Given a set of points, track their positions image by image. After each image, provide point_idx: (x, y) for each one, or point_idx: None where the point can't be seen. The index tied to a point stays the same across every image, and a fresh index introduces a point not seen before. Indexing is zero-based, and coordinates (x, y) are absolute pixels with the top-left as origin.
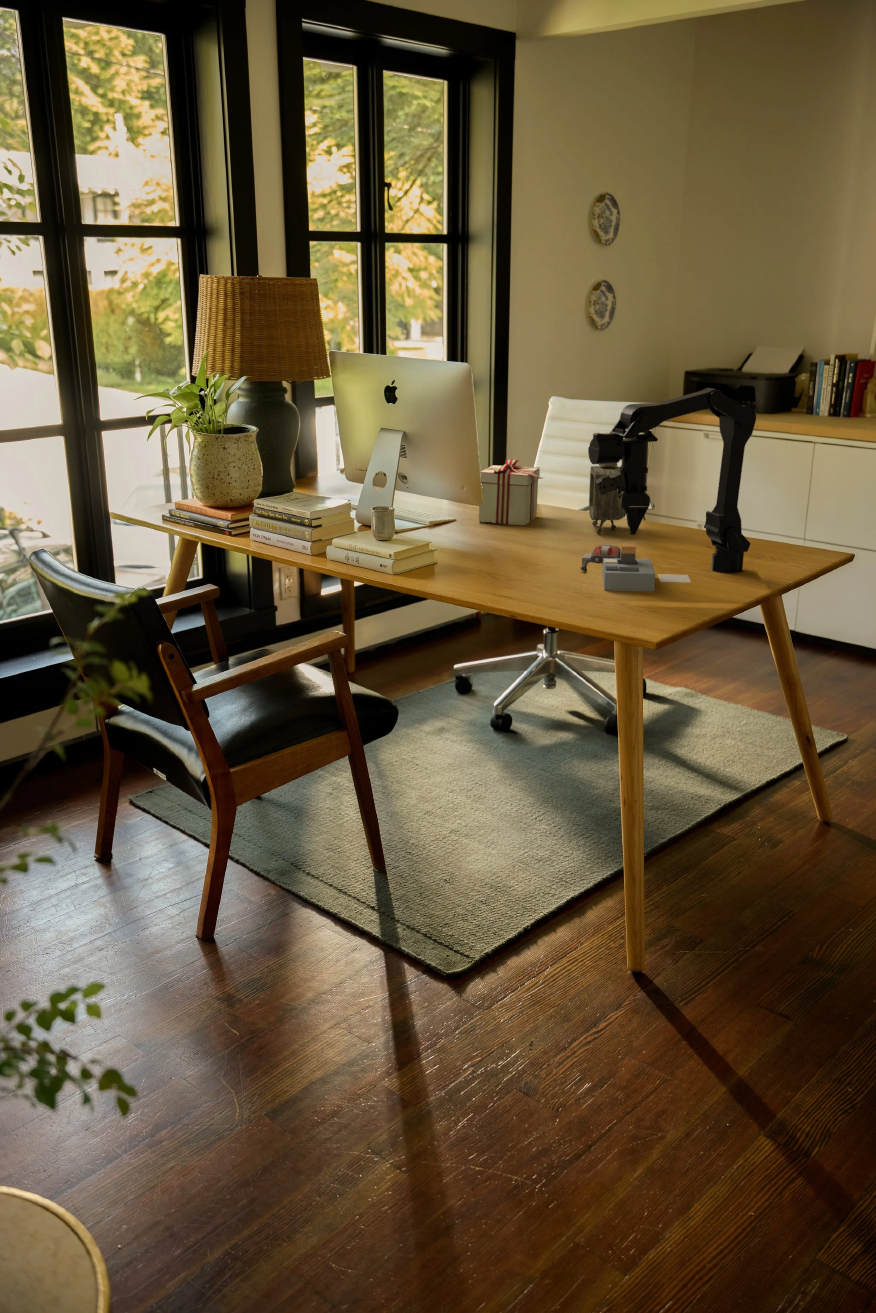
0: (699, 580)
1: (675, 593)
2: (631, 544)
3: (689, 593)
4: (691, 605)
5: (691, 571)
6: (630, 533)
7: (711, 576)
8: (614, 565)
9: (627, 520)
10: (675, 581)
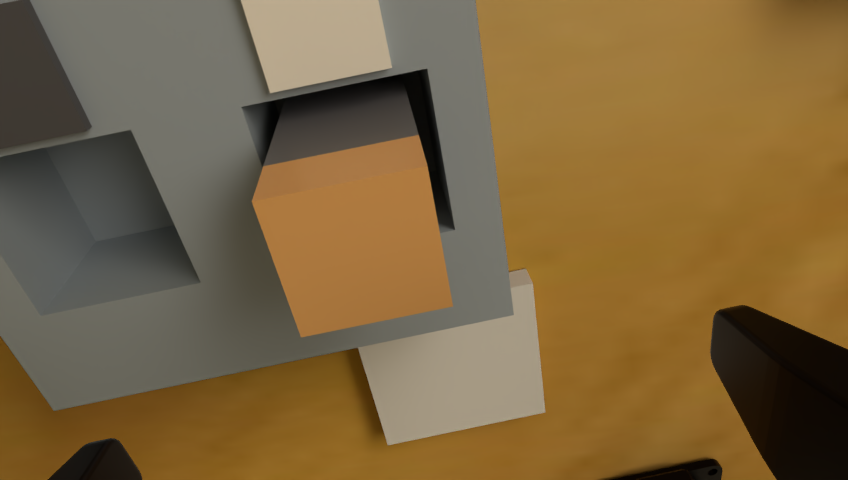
0: (521, 438)
1: (221, 390)
2: (402, 280)
3: (252, 439)
4: (25, 476)
5: (698, 388)
6: (77, 455)
7: (606, 465)
8: (165, 79)
9: (774, 360)
10: (383, 385)
